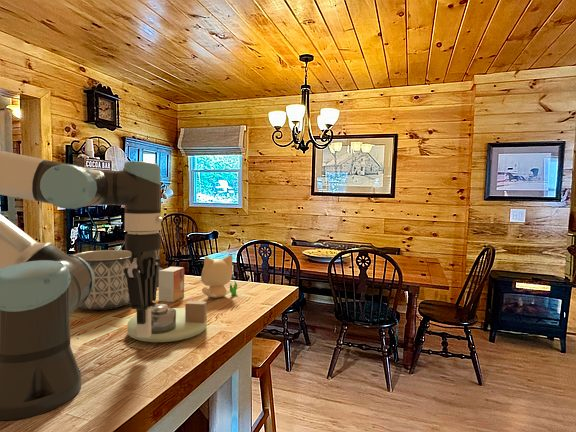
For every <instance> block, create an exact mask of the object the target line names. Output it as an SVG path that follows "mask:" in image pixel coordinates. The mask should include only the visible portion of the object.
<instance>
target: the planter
mask: <svg viewBox="0 0 576 432" xmlns="http://www.w3.org/2000/svg"><path fill="white" fill-rule="evenodd" d="M131 254H132V253H131V252H130V251H127V250H126V249H124V250H123V249H121V250H120V249H105V250H104V249H103V250H89V251H83V252H78V253H73V255H74V256H78V257H80V258H82V259H83V260H85V261H86V262H87V263H88V264H89V265H90V267H91V268H92V271H93V274H94V286H93V289H92V291H91V293H90V295H89V297H88V298H87V300H86V301H85V302H84V303H83V304H82V305H81V306H79V307H78V308H77V309H81V310H82V309H83V310H92V311H107V310H108V311H109V310H114V309H117V308H120V307H123V306H126V305H130V299H129V292H128V285H127V278H126V276H125V273H124V269H125V268H130V266H131V262H130V260H131Z"/></svg>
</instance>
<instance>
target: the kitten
mask: <svg viewBox="0 0 576 432" xmlns="http://www.w3.org/2000/svg"><path fill="white" fill-rule="evenodd" d="M233 258H234V257H233V255H232V254H229V255H227V256H225V257H224V258H222V259H221V258H213V259H212V258H210V257H209V256H205V257H204V259H203V260H204V261H203V268H202V269H201V270H202V271H201V275H200V280H201V283H202V284H203V285H204V286H205V287H203V288H202V289H201V292H202V293H203V295H205V296H207V297H209V298H215V299H216V298H222V297H225V296H226V294H227V289H226V287H225V285H227V284H229V283H230V284H229V292H230V293H231V294H230V295H231V296H236V295H237V288H238V284H237V281H234V285H232V283H231V280H232V277H233V271H232V269H233ZM206 286H207V287H206Z"/></svg>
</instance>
